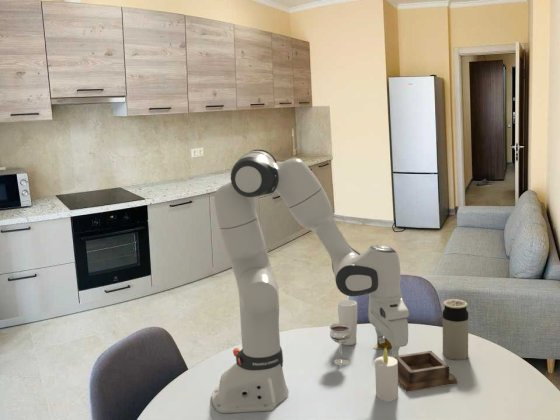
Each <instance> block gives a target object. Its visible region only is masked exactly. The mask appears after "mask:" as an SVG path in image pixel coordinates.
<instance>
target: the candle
mask: <svg viewBox="0 0 560 420" xmlns="http://www.w3.org/2000/svg"><path fill="white" fill-rule="evenodd" d="M382 351H383V352H382V353H383V354H382V356H379V357H376V358H375V360H374V367H375V369H374V371H375V372H374V374H375V396H376V398H377V399H378V400H380V401H385V402H391V401H395V400H396V399H398V398H399V383H398V361H397V359H395V358H394V357H392V356H390V355H389V354H388V351H387V349H386V348H385V349H384V350H382ZM388 355H389V356H388Z"/></svg>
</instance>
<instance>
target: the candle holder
mask: <svg viewBox="0 0 560 420" xmlns="http://www.w3.org/2000/svg"><path fill="white" fill-rule="evenodd" d="M393 358H395V359H397V361H398V385H400V386H401V387H402V389H403V390H404V391H405V392H414V391H421V390H427V389H431V388H437V387H438V388H439V387H443V386H450V385H455V384H458V378H457V377H456V376H455V375H453V373H451V371H450V365H448V364H447V363H446V362H444V360H442V359H441V358H440V357H439V356H438V355H437V354H436V353H435V352H433V351H432V350H428V351H419V352H415V353H406V354H401V355H400V354H399V355H398V357H393Z"/></svg>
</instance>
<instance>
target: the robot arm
mask: <svg viewBox="0 0 560 420" xmlns="http://www.w3.org/2000/svg"><path fill="white" fill-rule="evenodd" d="M274 192H275V193H277V195H278V196H279V197H280V198H281V199H282V201H283V203H284V204H285V207H287V209H288V211H289V212H290V214H291V216H292V217H293V218H294V219H295V221H296V222H297V223H298V224H299V225H300V226H301V227H302V228H304V229H307V230H309V231H312V232H313V233H314V234H315V235H316V236H317V237H318V239H319V240H320V242H321V243H322V246H323V247H324V249H325V250H326V252H327V253H328V255H329V257H330V259H331V268H332V272H333V276H334V281H335V284H336V285H335V286H336V288H337V289H338V291H339V292H340V293H342V294H343V295H345V296H348V297H358V296H363V295H368V296H369V297H368V299H369V301H368V307H367V308H368V309H367V310H368V321H369V323H370V324H371V325H372V326H373V327H374V330H375V333H376V339H377V338H378V342H379V343H385V338H386V339H387V340H388V341H389V342H390V343H391V346H392V349H390V351H389V352H390V353H389V354H390V356H391V357H393V358H394V357H398V356H399V355H400V354H399V351H400V348H402V347H406V346H407V345H408V342H409V322H408V319H407V318H409V316H410V311H409V309H408V307H407V306H406V304H405V302H404V299H403V296H402V289H401V286H400V282H401V278H402V277H401V275H402V274H401V264H400V258H399V254H398V253H397V251H396V250H395V249H394V248H392V247H391V246H387V245H383V244H382V245H380V244H375V245H370V247H368V249H366V250H365V251H364V252H362V253H360V252H359V251H358V250H356V249H354V248H353V247H351V246H350V245H349V243H348V242H347V240H346V238H345V237H344V235H343V234H342V232H341V230H340V229H339V227H338V225H337V223H336V221H335V218H334V212H333V207H332V204H331V202H330V199H329V197H328V194H327V193H326V191H325V189H324V187H323V186H322V183H321V182H320V181H319V179H318V178H317V176H316V174H314V172H313V171H312V170H311V168H309V166H308V165H307V164H306V163H305V162H304V160H302V159H301V158H294V157H293V158H289V159H286V160H284V161H283V162H277V160H276V158H275V156H274V155H273V154H272V153H271V152H268V151H267V150H264V149H252V150H251V151H249V152H247V153H245V154H244V155H242V156H241V157H240V158H239V159H238V160H237V161H236V162H235V163H234V165H233V166H232V168H231V172H230V182H228V183H225V184H222V185H221V186H220V187H218V189H217V190H216V191H215V193H214V197H213V198H214V206H215V213H216V218H217V223H218V226H219V231H220V233H221V237H222V240H223V244H224V247H225V250H226V254H227V256H228V259H229V262H230V266H231V268H232V272H233V274H234V278H235V281H236V286H237V291H238V292H237V293H238V299H239V300H238V301H239V316H240V334H241V336H240V337H241V345H242V346H241V348H242V349H241V350H240V349H239V348H238V347H236V348H235V347H234V349H233V350H232V353H233V356H234V357H235V361H236V362H235V363H234V364H233V365H232V366H231V367H230V368H228V369H227V370H226V371H224V372H223V373H222V374H221V377H220V380H219V384H218V386H217V387H215V388H214V389H213V392H212V395H211V402H212V405H213V408H214V410H215V411H217V412H218V413H220V414H231V413H249V412H251V413H252V412H267V411H270V412H271V411H273V410H274V409H275V408H276V407H277V405H279V404H280V403H282V402H283V401H284V400H286V399H287V397H288V396H289V388H288V386H287V383H286V380H285V375H284V370H283V365H284V355H283V349H282V347H281V336H280V335H281V334H280V290H279V289H280V288H279V285H278V282H277V280H276V277H275V275H274V271H273V268H272V263H271V261H270V257H269V253H268V249H267V244H266V241H265V236H264V233H263V230H262V227H261V223H260V220H259V216H258V213H257V209H256V205H255V197H256V198H258V197H261V196H264V195H265V196H266V195H270V194H273V193H274Z"/></svg>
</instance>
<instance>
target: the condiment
mask: <svg viewBox="0 0 560 420" xmlns="http://www.w3.org/2000/svg"><path fill="white" fill-rule="evenodd" d="M376 339H377V343H376V344H375V346H374V347H373V349H375V350H381V351H384V349H385V348H386V349H387V352H390V349H392V346H391V343H390V342H389V341H388V340H387V339H386V338H385V343H379V342H378V338H377V337H376Z"/></svg>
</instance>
